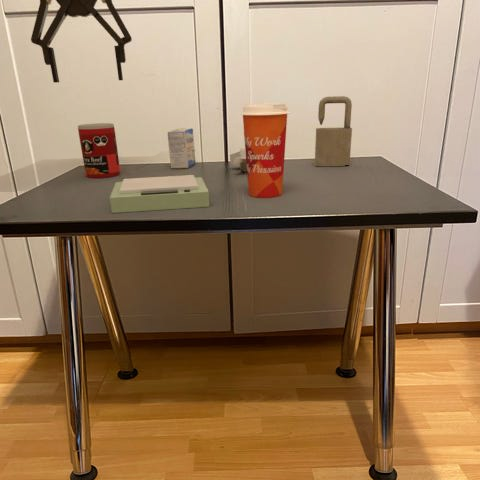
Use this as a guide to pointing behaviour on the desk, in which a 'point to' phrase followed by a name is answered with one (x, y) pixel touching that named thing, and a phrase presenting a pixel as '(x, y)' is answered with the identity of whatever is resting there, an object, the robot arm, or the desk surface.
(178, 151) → the medicine box
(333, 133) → the padlock
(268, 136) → the coffee cup
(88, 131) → the canned food
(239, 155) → the bunny figurine
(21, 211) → the desk surface
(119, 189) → the scale
